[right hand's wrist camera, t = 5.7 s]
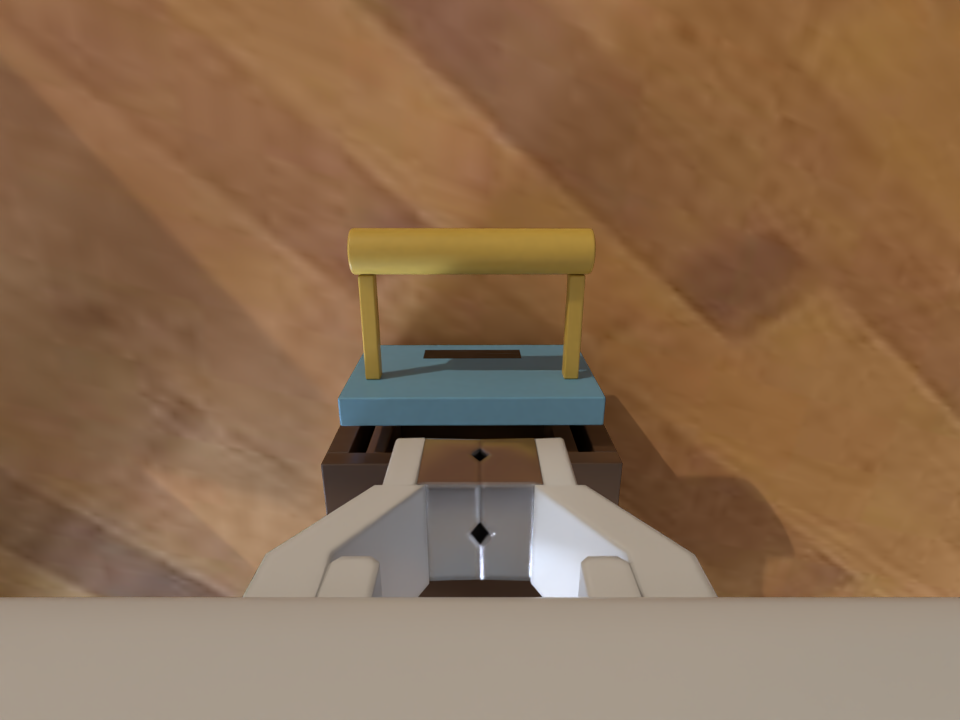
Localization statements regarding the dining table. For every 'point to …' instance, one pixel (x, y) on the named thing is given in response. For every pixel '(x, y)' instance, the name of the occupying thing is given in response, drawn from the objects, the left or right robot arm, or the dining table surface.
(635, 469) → the dining table surface
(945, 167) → the dining table surface
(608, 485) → the cabinet
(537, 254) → the drawer
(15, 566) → the dining table surface
